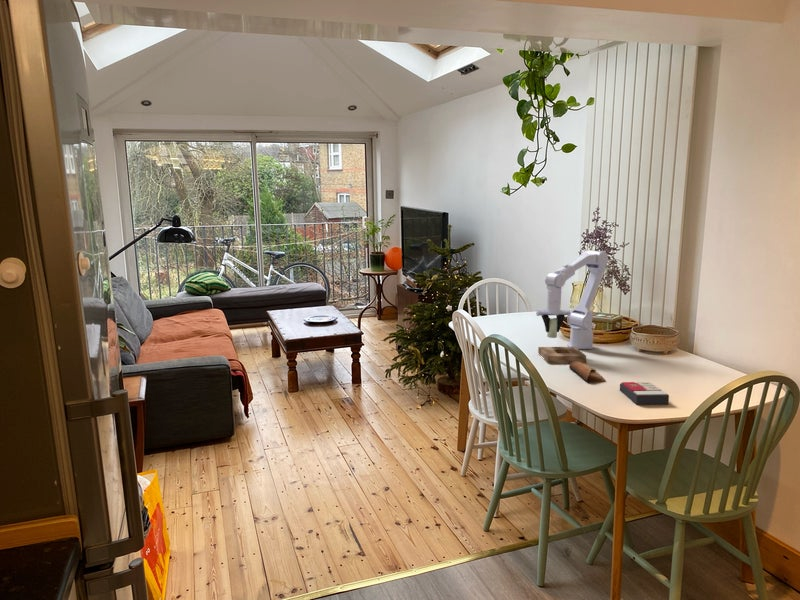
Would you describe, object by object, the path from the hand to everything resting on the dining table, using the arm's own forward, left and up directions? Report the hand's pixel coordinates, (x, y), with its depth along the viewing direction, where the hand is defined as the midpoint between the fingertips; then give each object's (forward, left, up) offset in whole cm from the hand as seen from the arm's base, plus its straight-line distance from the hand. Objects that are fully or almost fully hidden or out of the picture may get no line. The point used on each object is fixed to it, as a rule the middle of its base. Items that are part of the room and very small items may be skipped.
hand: (552, 331), depth 263 cm
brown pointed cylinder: (-5, +32, -10) cm, 34 cm away
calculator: (-15, +57, -10) cm, 60 cm away
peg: (0, 0, -2) cm, 2 cm away
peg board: (-2, +9, -9) cm, 13 cm away
